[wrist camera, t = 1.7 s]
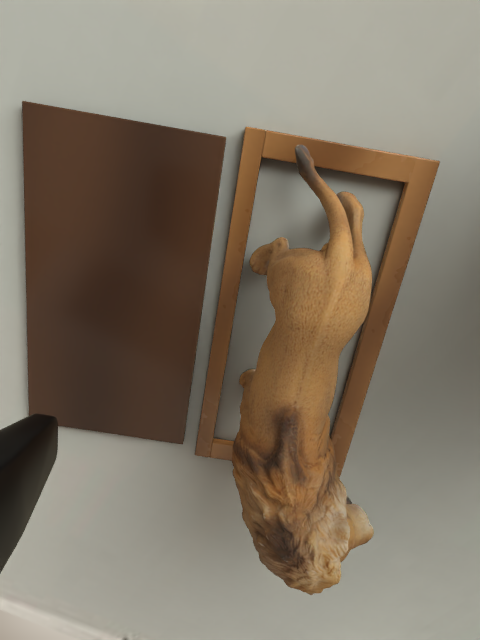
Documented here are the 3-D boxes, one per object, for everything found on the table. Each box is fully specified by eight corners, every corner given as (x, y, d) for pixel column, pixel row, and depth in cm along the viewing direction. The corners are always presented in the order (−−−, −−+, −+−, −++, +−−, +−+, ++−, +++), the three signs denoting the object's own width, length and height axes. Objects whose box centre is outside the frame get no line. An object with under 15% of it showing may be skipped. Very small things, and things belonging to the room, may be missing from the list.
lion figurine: (339, 442, 23) (388, 619, 15) (238, 443, 23) (232, 619, 15) (362, 142, 17) (467, 159, 9) (226, 146, 17) (204, 167, 9)
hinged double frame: (436, 160, 18) (440, 161, 17) (338, 472, 24) (339, 477, 23) (25, 87, 17) (20, 85, 17) (31, 425, 23) (28, 430, 23)
